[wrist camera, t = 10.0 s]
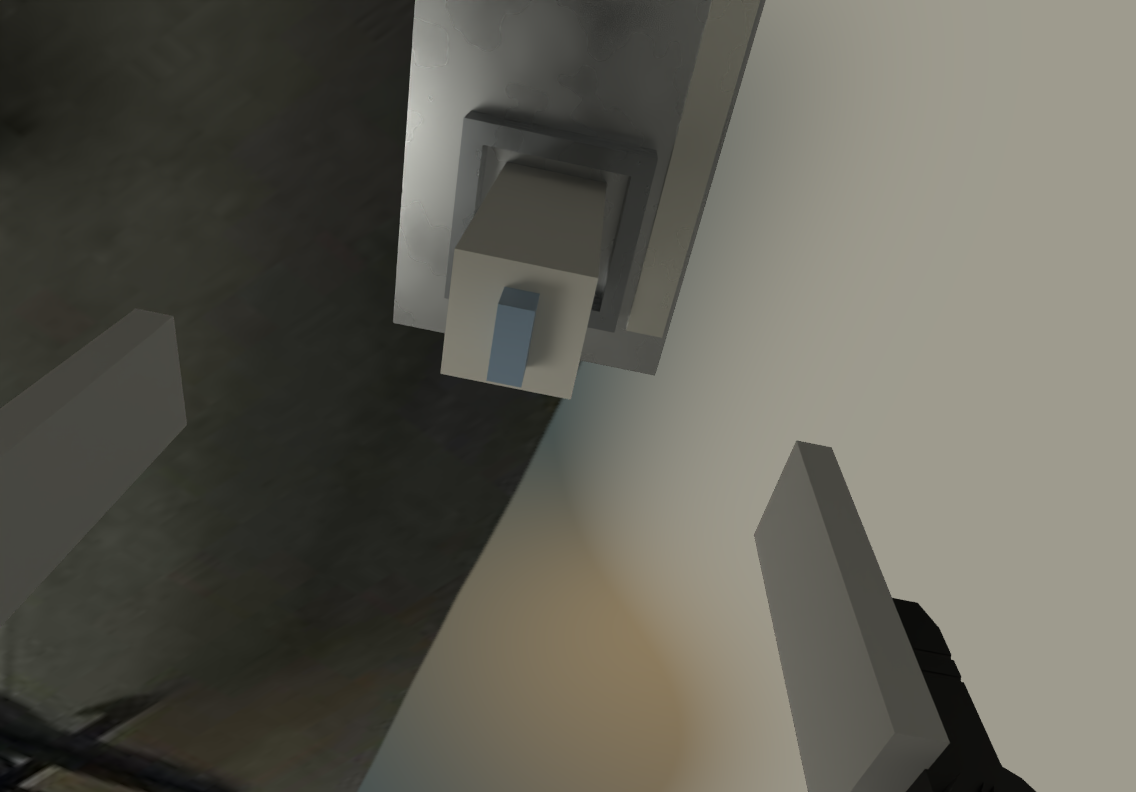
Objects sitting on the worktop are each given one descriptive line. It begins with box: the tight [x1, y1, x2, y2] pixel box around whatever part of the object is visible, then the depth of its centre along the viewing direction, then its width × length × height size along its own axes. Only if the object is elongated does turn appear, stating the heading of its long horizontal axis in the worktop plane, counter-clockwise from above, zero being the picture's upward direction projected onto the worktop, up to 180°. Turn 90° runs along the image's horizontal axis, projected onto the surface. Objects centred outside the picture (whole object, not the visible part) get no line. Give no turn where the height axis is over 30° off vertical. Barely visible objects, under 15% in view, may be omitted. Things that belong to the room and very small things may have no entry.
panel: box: [393, 0, 765, 375], centre depth 25 cm, size 26×12×2 cm, turn 169°
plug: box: [441, 162, 606, 399], centre depth 24 cm, size 4×4×11 cm
